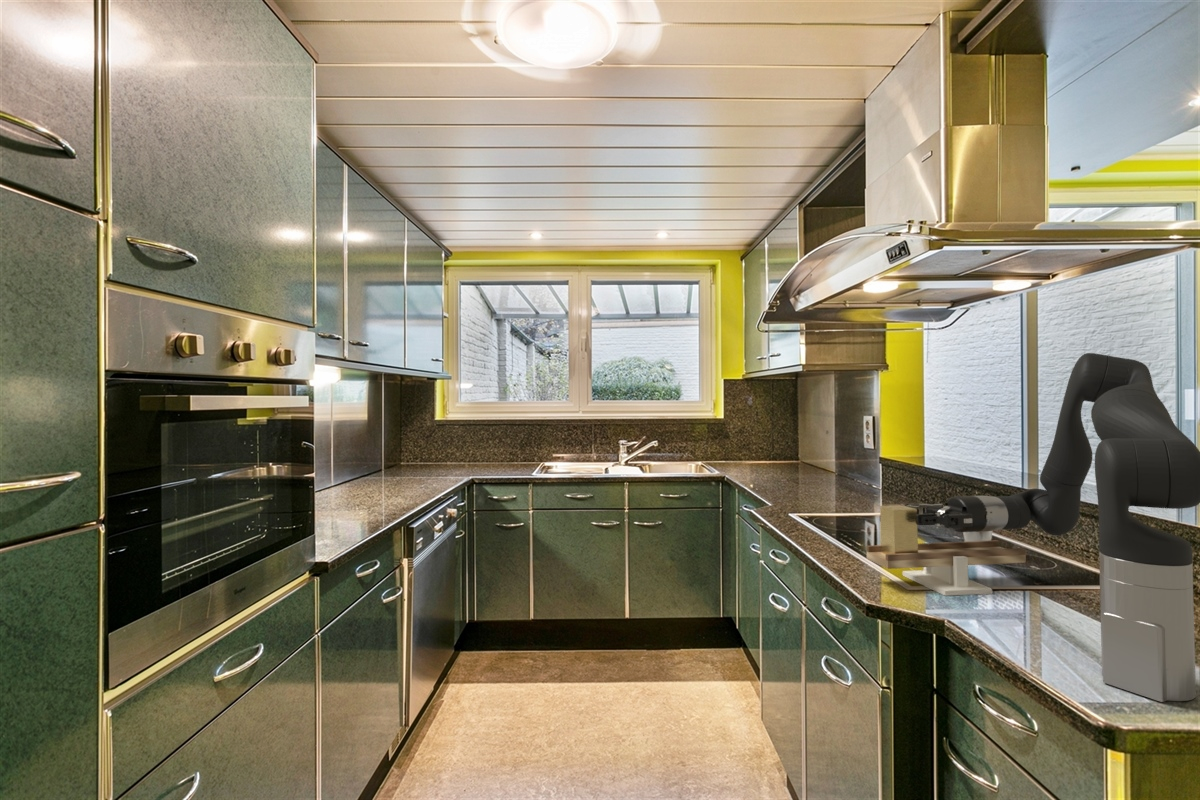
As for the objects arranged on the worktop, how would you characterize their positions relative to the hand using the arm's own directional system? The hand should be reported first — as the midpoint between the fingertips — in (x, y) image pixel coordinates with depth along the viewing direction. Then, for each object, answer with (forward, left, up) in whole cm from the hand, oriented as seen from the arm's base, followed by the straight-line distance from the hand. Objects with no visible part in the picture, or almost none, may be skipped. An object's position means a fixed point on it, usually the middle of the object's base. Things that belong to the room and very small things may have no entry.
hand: (903, 515), depth 122 cm
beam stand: (+8, -3, -15) cm, 17 cm away
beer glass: (+34, +5, -15) cm, 38 cm away
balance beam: (+8, -3, -10) cm, 13 cm away
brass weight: (-1, 0, -8) cm, 8 cm away
